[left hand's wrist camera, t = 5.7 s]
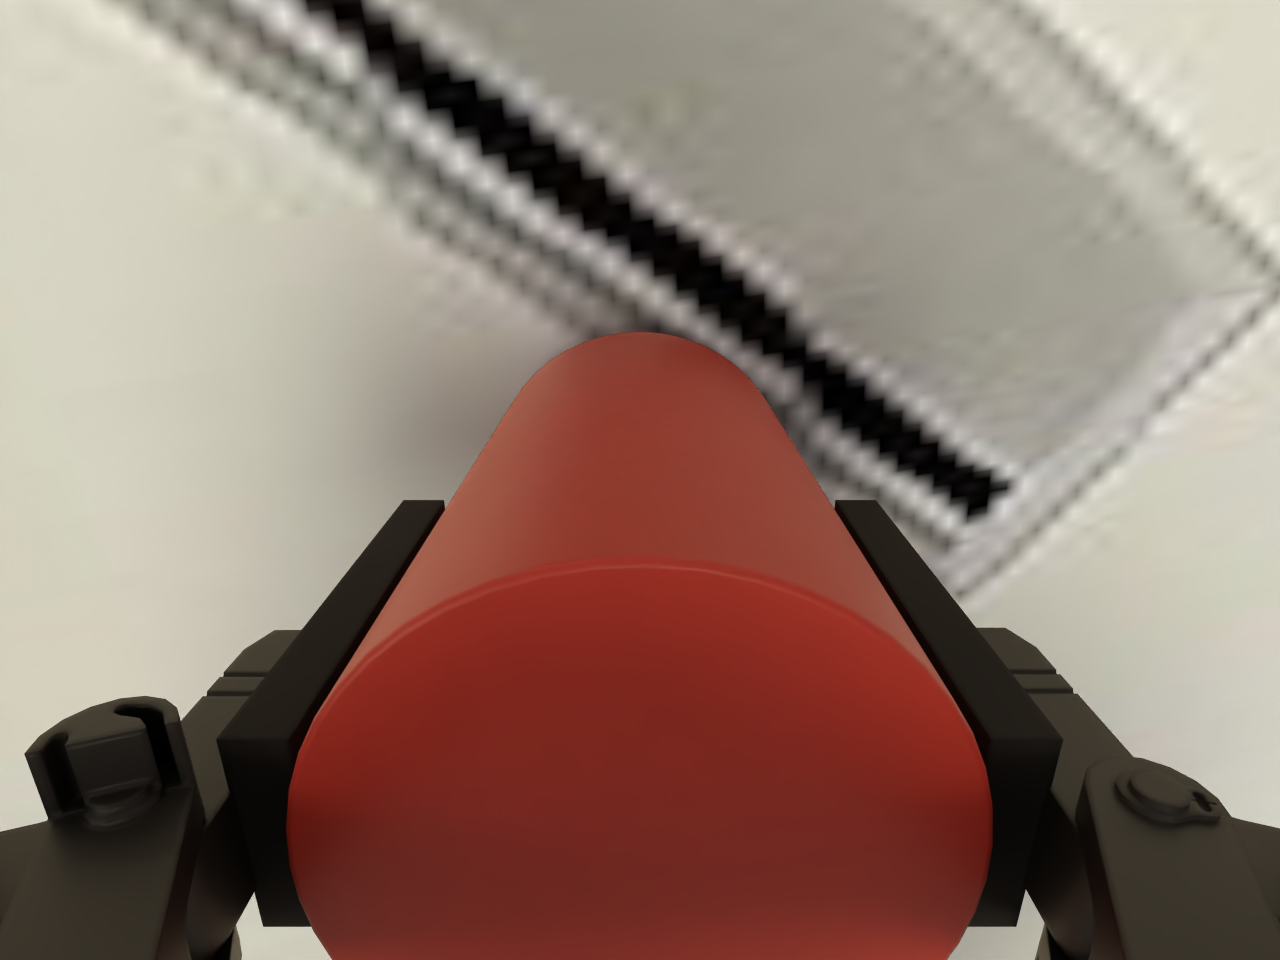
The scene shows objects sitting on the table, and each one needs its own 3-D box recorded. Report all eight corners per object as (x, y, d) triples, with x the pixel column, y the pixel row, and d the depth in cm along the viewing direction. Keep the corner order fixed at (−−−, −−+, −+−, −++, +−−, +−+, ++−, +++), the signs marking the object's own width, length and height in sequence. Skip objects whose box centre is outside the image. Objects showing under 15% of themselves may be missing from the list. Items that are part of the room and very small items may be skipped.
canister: (836, 405, 18) (1149, 729, 7) (706, 639, 20) (785, 1158, 9) (559, 279, 17) (409, 427, 6) (456, 542, 19) (211, 997, 8)
